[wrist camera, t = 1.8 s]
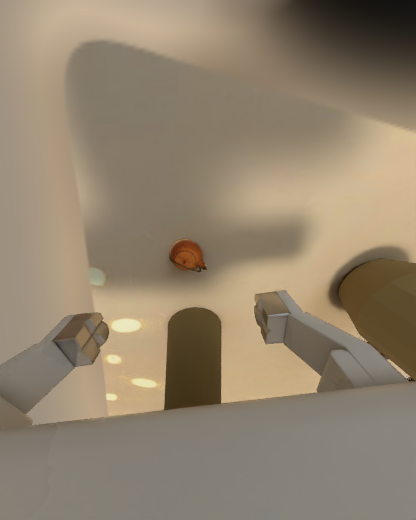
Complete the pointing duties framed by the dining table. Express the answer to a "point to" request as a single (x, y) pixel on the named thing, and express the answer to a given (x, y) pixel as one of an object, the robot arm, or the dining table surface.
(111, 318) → the dining table surface
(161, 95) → the dining table surface
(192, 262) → the small kettle
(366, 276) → the squeeze bottle
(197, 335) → the pepper shaker
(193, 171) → the dining table surface
